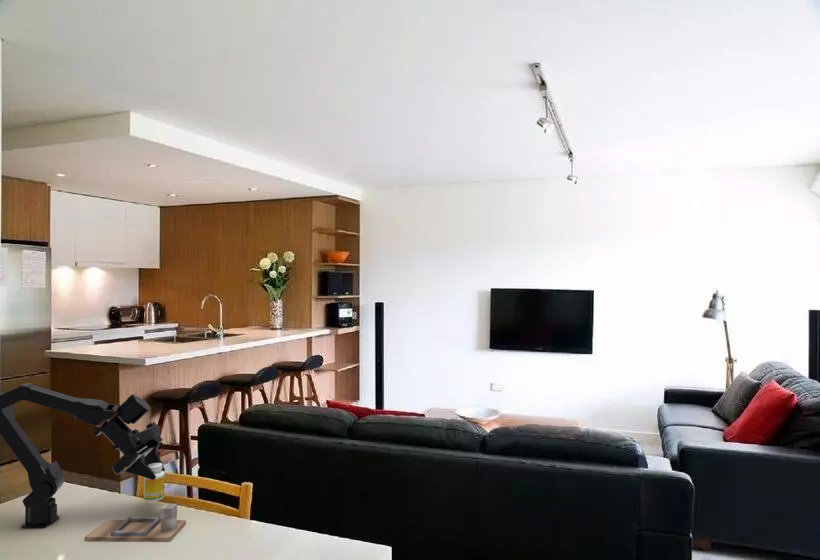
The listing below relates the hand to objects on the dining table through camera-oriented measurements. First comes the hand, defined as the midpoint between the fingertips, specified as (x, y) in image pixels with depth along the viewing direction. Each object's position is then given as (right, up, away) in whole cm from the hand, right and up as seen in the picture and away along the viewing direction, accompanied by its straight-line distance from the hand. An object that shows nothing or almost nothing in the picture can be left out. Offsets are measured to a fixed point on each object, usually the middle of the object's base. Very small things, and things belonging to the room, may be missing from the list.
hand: (159, 474), depth 153 cm
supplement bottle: (-1, -7, 0) cm, 7 cm away
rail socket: (-1, -12, -10) cm, 15 cm away
